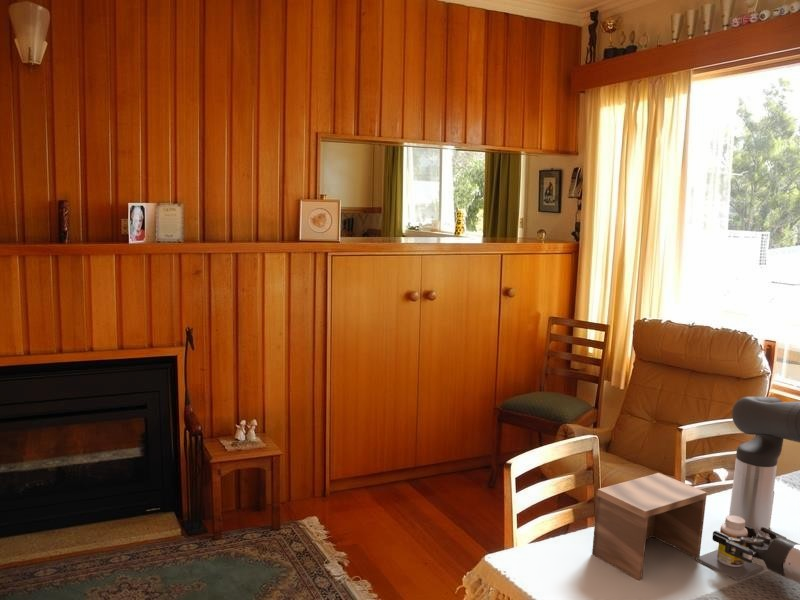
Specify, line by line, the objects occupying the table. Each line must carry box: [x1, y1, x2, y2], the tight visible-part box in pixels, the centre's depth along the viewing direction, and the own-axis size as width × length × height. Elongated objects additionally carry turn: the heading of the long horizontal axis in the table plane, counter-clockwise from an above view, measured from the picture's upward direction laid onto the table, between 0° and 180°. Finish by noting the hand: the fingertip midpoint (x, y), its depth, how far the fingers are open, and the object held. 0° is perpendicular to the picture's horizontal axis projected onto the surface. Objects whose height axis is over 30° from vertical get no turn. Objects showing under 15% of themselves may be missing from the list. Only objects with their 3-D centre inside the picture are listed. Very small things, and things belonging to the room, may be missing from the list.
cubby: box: [591, 472, 708, 581], centre depth 171 cm, size 21×13×16 cm, turn 124°
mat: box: [695, 549, 764, 581], centre depth 170 cm, size 10×10×1 cm
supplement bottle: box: [717, 515, 748, 567], centre depth 169 cm, size 6×6×10 cm
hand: (725, 530), depth 170 cm, fingers open, 8 cm apart
